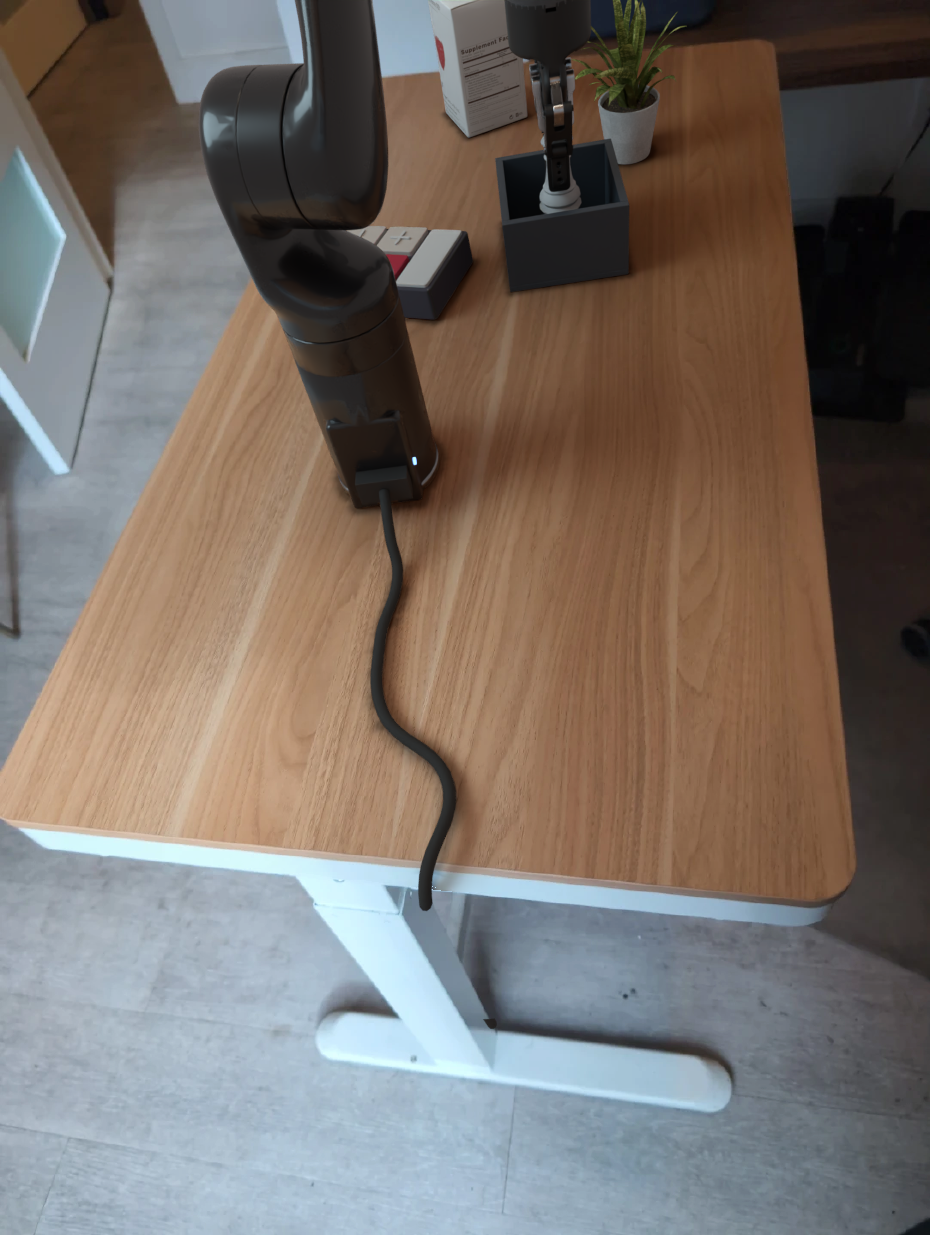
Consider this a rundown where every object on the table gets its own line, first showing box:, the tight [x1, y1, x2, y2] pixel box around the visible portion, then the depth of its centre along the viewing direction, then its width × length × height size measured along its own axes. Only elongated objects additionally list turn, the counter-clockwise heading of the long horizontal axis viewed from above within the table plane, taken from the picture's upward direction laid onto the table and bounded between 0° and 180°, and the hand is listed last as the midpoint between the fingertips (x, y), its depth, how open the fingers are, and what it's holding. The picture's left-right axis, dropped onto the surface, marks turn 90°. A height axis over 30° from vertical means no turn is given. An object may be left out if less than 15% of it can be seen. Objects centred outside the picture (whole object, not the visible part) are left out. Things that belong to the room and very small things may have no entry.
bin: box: [494, 138, 630, 293], centre depth 89 cm, size 14×13×8 cm
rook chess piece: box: [540, 134, 581, 214], centre depth 86 cm, size 4×4×8 cm
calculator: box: [346, 225, 474, 321], centre depth 92 cm, size 11×4×15 cm
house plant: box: [571, 0, 686, 165], centre depth 96 cm, size 14×14×16 cm
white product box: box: [427, 0, 528, 138], centre depth 107 cm, size 9×9×15 cm
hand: (557, 179), depth 86 cm, fingers closed on rook chess piece, 3 cm apart
